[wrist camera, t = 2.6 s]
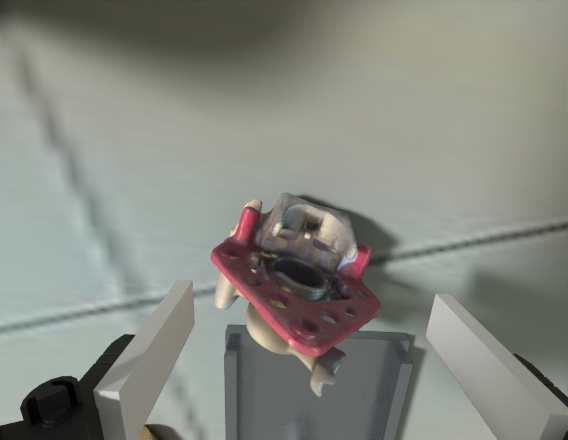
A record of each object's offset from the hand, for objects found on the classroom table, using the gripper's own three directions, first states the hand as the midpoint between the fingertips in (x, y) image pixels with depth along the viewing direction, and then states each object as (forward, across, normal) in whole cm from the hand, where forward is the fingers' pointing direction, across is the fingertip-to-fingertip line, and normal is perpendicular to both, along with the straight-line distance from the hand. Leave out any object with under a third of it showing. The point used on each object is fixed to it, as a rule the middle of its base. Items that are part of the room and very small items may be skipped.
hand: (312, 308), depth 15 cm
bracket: (+8, +2, -18) cm, 20 cm away
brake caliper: (+8, -1, 0) cm, 8 cm away
